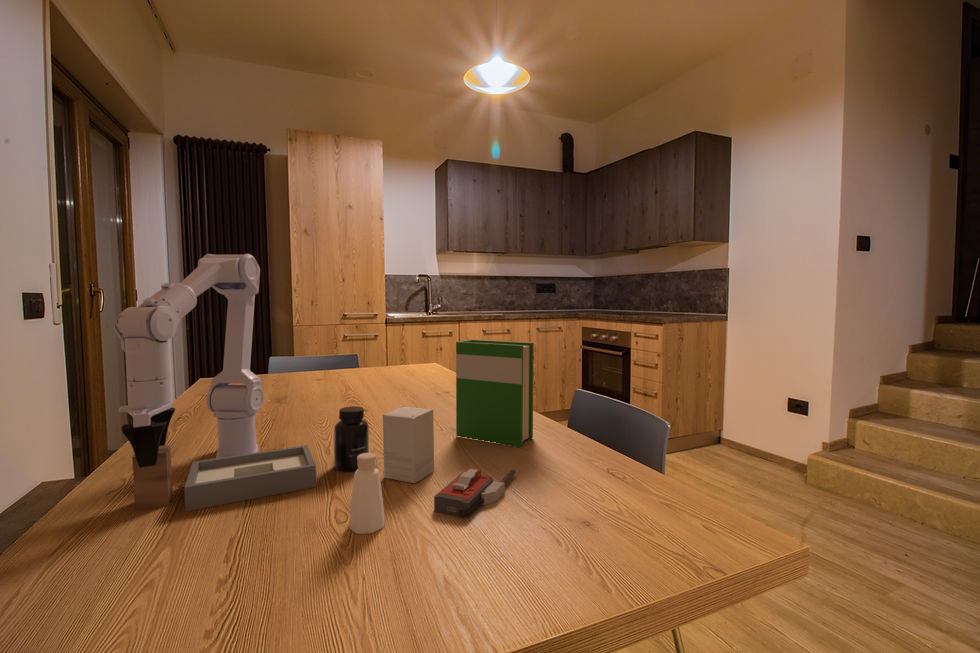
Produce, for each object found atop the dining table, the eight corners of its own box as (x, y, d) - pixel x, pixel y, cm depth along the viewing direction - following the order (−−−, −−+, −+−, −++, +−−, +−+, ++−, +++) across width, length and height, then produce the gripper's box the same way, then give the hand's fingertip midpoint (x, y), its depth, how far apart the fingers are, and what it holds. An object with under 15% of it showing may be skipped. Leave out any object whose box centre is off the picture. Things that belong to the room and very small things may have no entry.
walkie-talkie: (477, 527, 68) (518, 478, 87) (477, 499, 68) (519, 456, 86) (427, 516, 71) (477, 471, 90) (427, 489, 71) (477, 450, 90)
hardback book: (532, 439, 110) (533, 342, 108) (521, 447, 103) (521, 345, 102) (470, 429, 118) (470, 339, 116) (456, 437, 111) (456, 342, 110)
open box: (193, 482, 83) (192, 461, 83) (307, 463, 93) (307, 445, 93) (185, 511, 72) (184, 487, 72) (316, 486, 82) (315, 465, 81)
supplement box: (435, 470, 89) (435, 409, 89) (414, 484, 83) (413, 418, 82) (405, 465, 93) (404, 405, 92) (382, 478, 86) (381, 413, 85)
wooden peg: (140, 500, 76) (138, 448, 76) (172, 494, 78) (170, 444, 78) (134, 511, 72) (132, 457, 72) (168, 504, 74) (166, 452, 74)
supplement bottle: (359, 473, 88) (358, 414, 87) (327, 470, 89) (326, 412, 88) (374, 460, 95) (373, 405, 94) (345, 458, 96) (344, 403, 95)
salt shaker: (352, 538, 64) (351, 464, 64) (346, 521, 69) (344, 452, 68) (389, 529, 67) (388, 457, 66) (380, 513, 72) (380, 447, 71)
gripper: (128, 374, 78) (132, 449, 79) (105, 388, 66) (110, 477, 67) (177, 371, 82) (179, 443, 83) (164, 384, 69) (167, 469, 70)
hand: (152, 458), depth 75 cm, fingers open, 7 cm apart
